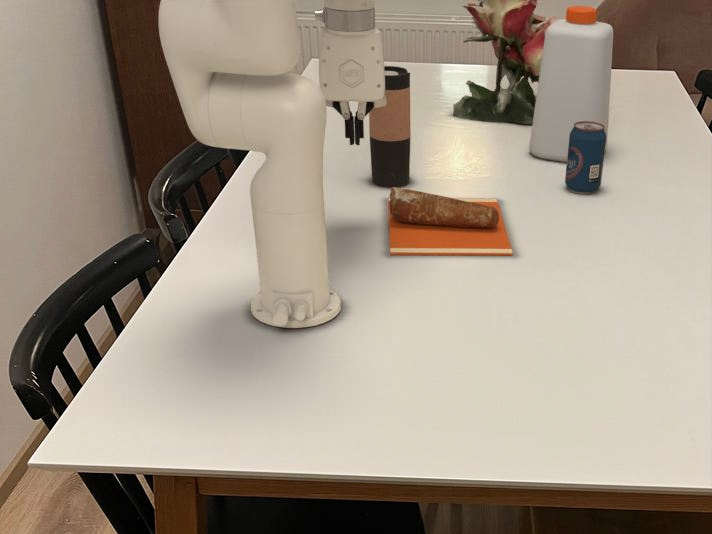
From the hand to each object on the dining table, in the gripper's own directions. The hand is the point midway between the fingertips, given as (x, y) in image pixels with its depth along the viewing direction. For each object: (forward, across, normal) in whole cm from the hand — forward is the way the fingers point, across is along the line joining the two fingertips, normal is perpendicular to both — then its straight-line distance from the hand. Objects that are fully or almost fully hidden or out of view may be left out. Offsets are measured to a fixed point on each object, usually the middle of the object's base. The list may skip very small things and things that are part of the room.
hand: (354, 142), depth 152 cm
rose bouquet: (+15, +37, +76) cm, 86 cm away
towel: (+14, +15, -1) cm, 21 cm away
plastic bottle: (+15, +44, +42) cm, 63 cm away
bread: (+14, +15, -1) cm, 20 cm away
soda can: (+14, +43, +19) cm, 49 cm away
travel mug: (+14, +6, +22) cm, 27 cm away
